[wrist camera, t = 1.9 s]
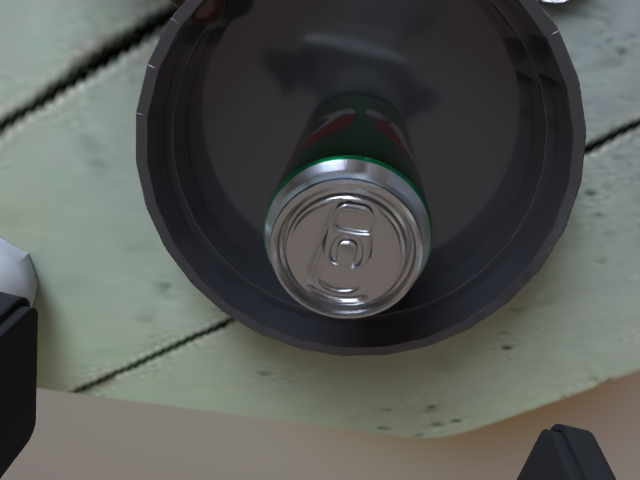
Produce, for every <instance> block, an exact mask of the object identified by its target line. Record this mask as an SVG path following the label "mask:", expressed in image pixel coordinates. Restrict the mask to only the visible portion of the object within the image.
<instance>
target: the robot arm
mask: <svg viewBox="0 0 640 480" xmlns="http://www.w3.org/2000/svg"><path fill="white" fill-rule="evenodd" d="M37 332H38V313H37V310H36V309H35V308H31V307H30V303H29V300H28V299H27V298H25V297H21V296H16V295H12V294H8V293H4V292H0V478H1V477H2V476H3V474H4V473H5V472H6V470H7V469H8V468H9V466H10V465H11V464H12V462H13V461H14V459H15V458H16V457H17V456H18V454H19V453H20V452H21V450H22V449H23V448H24V446H25V445H26V444H27V442H28V441H29V439H30V437H31V435H32V433H33V430H34V427H35V421H36V379H37ZM517 480H616V478H615V476H614V474H613V472H612V471H611V468H610V466H609V465H608V463H607V461H606V459H605V457H604V455H603V453H602V451H601V449H600V447H599V445H598V443H597V441H596V439H595V437H594V436H593V434H592V433H591V432H589V431H587V430H583V429H579V428H575V427H570V426H566V425H562V424H556V425H554V426H553V427H552V428H551V430H548V429H546V430H543V431H542V432H541V434H540V435H539V437H538V439H537V441H536V443H535V445H534V447H533V449H532V451H531V453H530V455H529V457H528V459H527V461H526V463H525V465H524V467H523V468H522V470H521V472H520V474H519V476H518V478H517Z"/></svg>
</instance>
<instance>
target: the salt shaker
mask: <svg viewBox="0 0 640 480" xmlns="http://www.w3.org/2000/svg"><path fill="white" fill-rule="evenodd" d="M37 285H38V281H37V278H36V275H35V272H34V269H33V266H32V263H31V260H30V257H29V254H28V253H27V252H25V251H23V250H21V249H20V248H18V247H16V246H14V245H13V244H11V243H9V242H7V241H6V240H4V239H2V238H0V292H4V293H8V294H12V295H16V296H21V297H25V298H27V299H28V300H29V303H30V307H32V305H33V301H34V297H35V293H36V289H37Z"/></svg>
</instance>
